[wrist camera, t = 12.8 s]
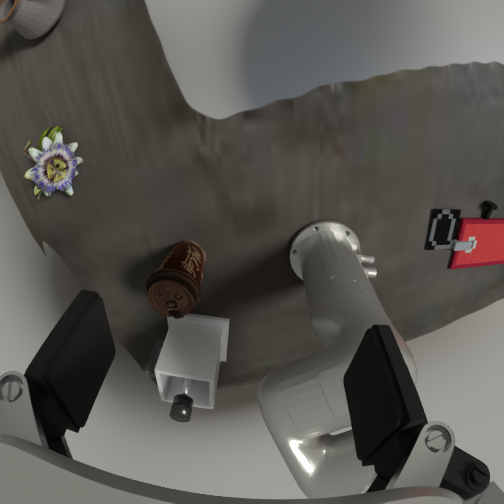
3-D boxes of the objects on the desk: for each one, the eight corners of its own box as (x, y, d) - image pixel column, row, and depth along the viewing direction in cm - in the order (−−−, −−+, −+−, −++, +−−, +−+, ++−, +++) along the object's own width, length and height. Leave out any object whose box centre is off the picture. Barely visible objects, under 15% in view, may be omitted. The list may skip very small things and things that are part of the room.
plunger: (217, 328, 60) (202, 410, 42) (215, 353, 64) (203, 430, 46) (178, 323, 60) (153, 401, 42) (180, 348, 64) (160, 423, 46)
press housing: (229, 318, 59) (221, 376, 46) (226, 359, 66) (219, 412, 53) (158, 308, 59) (136, 362, 46) (163, 349, 65) (147, 400, 52)
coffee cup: (197, 283, 56) (182, 331, 44) (158, 262, 54) (134, 306, 42) (219, 250, 52) (207, 295, 40) (178, 226, 50) (154, 266, 39)
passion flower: (94, 153, 49) (83, 201, 43) (49, 166, 48) (35, 213, 42) (73, 109, 39) (54, 156, 33) (26, 127, 38) (4, 175, 32)
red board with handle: (434, 197, 45) (420, 267, 53) (441, 203, 43) (425, 275, 50) (526, 203, 44) (510, 259, 51) (533, 208, 41) (516, 265, 49)
